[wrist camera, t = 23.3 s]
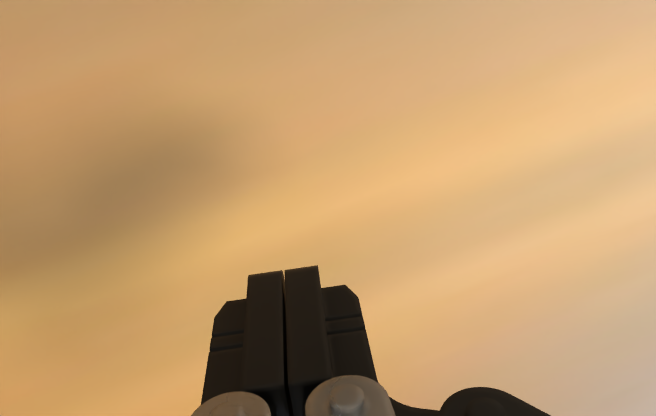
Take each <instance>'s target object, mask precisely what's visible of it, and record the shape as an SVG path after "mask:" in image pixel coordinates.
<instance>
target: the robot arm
mask: <svg viewBox="0 0 656 416" xmlns="http://www.w3.org/2000/svg"><path fill="white" fill-rule="evenodd" d="M191 416H550V415H548V414H547V413H545V412H543V411H541V410H539V409H537V408H535V407H533V406H531V405H530V404H528V403H526V402H524V401H522V400H520V399H518V398H516V397H514V396H512V395H511V394H508V393H506V392H504V391H501V390H498V389H494V388H488V387H473V388H468V389H464V390H461V391H458V392H456V393H454V394H453V395H451V396H450V397H449V398H448V399H447V400H446V401H445V402H444V404H443V405H442V407H441V410H440V411H438V410H429V409H420V408H414V407H410V406H406V405H403V404H401V403H399V402H397V401H395V400H393V399H392V398H390V397H389V396H388V394H387V392H386V390H385V389H384V388H383V387H382V386H381V385H380V384H379V383H378V380H377V377H376V373H375V368H374V364H373V360H372V355H371V351H370V347H369V342H368V338H367V334H366V330H365V325H364V321H363V316H362V312H361V308H360V303H359V299H358V297H357V296H356V295H355V294H354V293H353V292H352V291H351V290H350V289H349V288H348V287H347V286H346V285H340V286H333V287H326V288H321V285H320V278H319V271H318V265H317V266H310V267H303V268H296V269H289V270H285V280H284V275H283V271H282V270H281V271H274V272H267V273H260V274H253V275H249V276H248V286H247V299H241V300H234V301H227V302H226V303H225V304H224V306H223V307H222V308H221V310H220V311H219V312H218V314H217V315H216V316H215V318H214V324H213V331H212V338H211V343H210V352H209V356H208V362H207V369H206V375H205V382H204V388H203V394H202V401H201V406H199V407H198V408H197V409H196V410H195V411H194V413H193V414H192V415H191Z"/></svg>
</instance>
